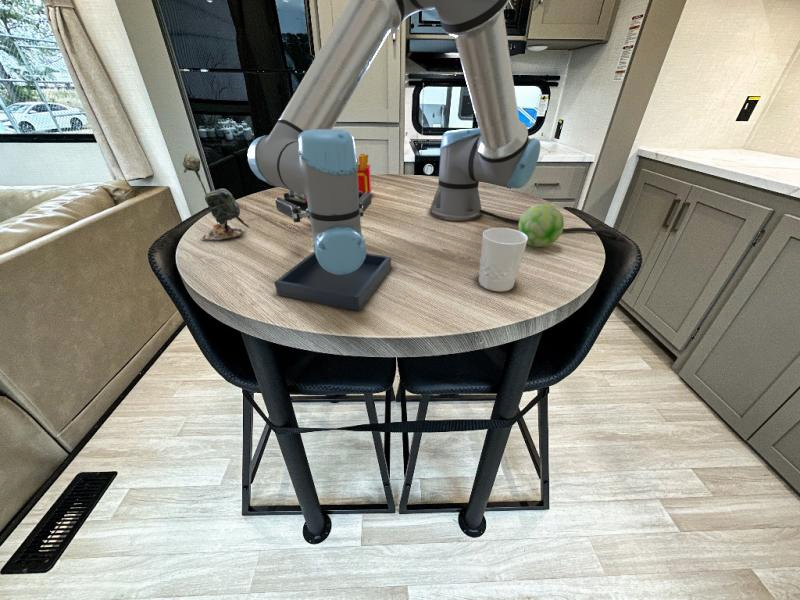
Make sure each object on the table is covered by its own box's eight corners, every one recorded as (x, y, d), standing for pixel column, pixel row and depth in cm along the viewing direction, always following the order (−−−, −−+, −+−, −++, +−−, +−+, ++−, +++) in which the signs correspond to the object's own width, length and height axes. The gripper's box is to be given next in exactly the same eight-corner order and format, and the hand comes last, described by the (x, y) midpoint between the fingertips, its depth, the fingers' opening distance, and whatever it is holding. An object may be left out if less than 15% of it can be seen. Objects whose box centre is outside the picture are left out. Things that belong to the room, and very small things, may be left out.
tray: (391, 268, 69) (391, 256, 67) (359, 311, 55) (358, 297, 54) (322, 257, 73) (320, 246, 71) (277, 295, 60) (274, 281, 58)
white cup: (471, 274, 67) (477, 228, 61) (508, 272, 67) (517, 226, 62) (482, 294, 60) (490, 244, 55) (523, 292, 61) (535, 243, 55)
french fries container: (370, 199, 111) (368, 155, 104) (343, 199, 111) (339, 155, 103) (371, 194, 117) (369, 152, 109) (346, 194, 117) (342, 152, 109)
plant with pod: (240, 243, 80) (215, 156, 69) (197, 241, 81) (165, 154, 70) (256, 231, 86) (235, 149, 75) (216, 229, 87) (190, 148, 76)
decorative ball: (539, 257, 73) (551, 214, 68) (506, 242, 80) (514, 202, 75) (566, 248, 78) (579, 206, 72) (532, 234, 85) (541, 196, 79)
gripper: (264, 247, 58) (270, 211, 75) (397, 234, 64) (374, 203, 81) (254, 206, 54) (262, 178, 71) (397, 195, 60) (373, 172, 77)
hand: (322, 191), depth 76 cm, fingers open, 13 cm apart
